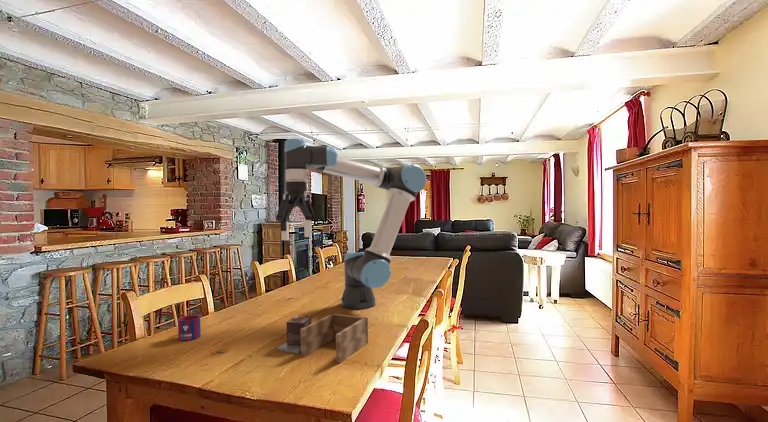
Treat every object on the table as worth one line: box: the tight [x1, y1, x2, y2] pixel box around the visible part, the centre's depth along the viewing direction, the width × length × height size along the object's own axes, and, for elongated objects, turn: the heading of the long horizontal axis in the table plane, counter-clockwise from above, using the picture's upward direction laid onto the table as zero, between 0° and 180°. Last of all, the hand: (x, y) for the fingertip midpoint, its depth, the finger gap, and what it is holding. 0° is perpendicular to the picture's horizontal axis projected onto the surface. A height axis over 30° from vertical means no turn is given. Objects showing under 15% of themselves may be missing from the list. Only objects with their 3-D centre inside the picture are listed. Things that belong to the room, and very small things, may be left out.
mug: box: [177, 314, 202, 342], centre depth 131 cm, size 7×10×7 cm
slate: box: [276, 342, 301, 355], centre depth 121 cm, size 12×8×1 cm, turn 155°
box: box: [286, 316, 313, 346], centre depth 121 cm, size 6×6×7 cm
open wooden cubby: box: [300, 313, 369, 364], centre depth 117 cm, size 17×13×8 cm
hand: (297, 238), depth 143 cm, fingers open, 13 cm apart
